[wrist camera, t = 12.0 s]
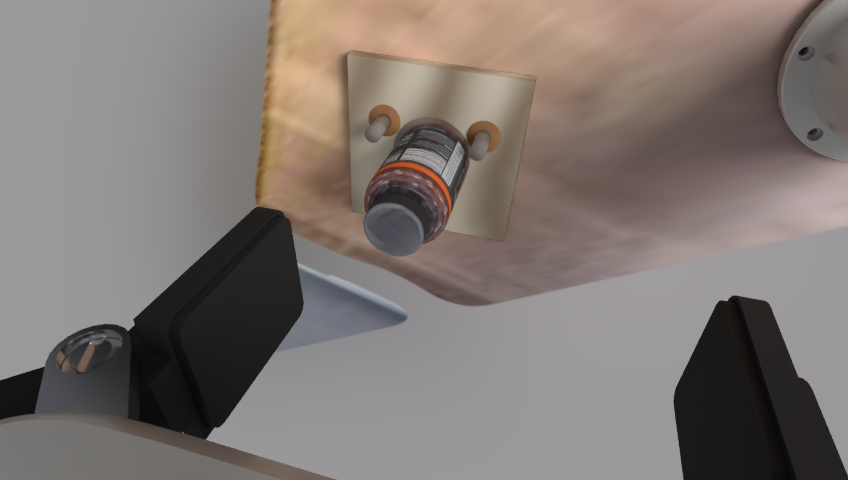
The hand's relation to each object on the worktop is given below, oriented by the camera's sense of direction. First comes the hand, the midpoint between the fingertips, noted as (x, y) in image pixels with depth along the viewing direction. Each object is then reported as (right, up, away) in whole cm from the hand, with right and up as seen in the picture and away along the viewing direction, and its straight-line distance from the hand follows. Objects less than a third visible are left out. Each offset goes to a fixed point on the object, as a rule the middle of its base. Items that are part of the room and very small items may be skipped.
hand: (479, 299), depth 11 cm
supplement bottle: (0, +8, +29) cm, 30 cm away
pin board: (0, +9, +30) cm, 31 cm away
